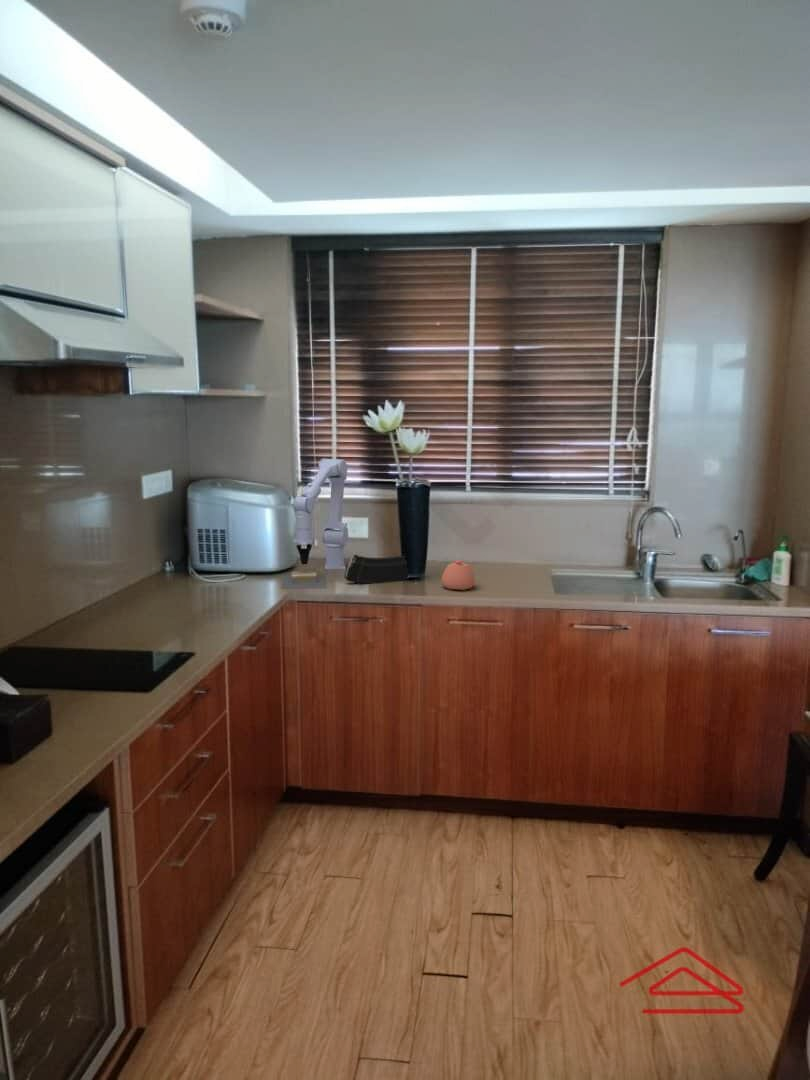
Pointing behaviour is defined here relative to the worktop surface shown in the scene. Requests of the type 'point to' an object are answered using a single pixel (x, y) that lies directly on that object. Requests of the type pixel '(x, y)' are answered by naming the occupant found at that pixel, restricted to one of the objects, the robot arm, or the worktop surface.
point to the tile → (303, 577)
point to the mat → (289, 585)
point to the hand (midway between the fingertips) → (304, 564)
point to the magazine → (376, 569)
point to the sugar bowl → (458, 576)
